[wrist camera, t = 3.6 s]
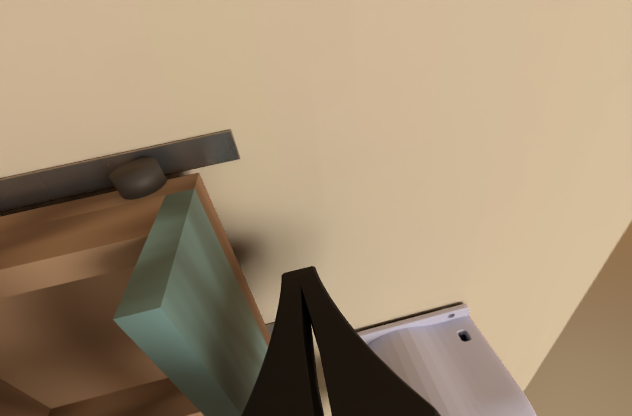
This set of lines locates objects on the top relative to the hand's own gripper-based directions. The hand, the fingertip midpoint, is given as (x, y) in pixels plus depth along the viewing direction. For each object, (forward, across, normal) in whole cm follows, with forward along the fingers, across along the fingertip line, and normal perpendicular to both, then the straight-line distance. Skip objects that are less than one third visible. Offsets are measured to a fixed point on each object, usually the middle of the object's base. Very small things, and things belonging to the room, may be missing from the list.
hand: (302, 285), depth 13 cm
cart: (+3, +9, +1) cm, 10 cm away
